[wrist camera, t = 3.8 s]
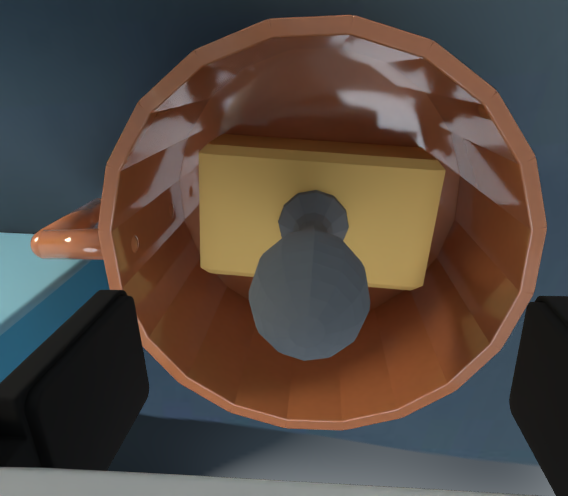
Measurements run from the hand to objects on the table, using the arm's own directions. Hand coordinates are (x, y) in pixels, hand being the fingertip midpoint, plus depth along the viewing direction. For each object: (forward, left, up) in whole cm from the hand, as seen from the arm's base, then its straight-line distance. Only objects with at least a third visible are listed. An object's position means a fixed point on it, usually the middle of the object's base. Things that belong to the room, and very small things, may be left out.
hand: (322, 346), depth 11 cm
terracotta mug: (-2, 0, -13) cm, 13 cm away
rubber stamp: (0, 0, -13) cm, 12 cm away
